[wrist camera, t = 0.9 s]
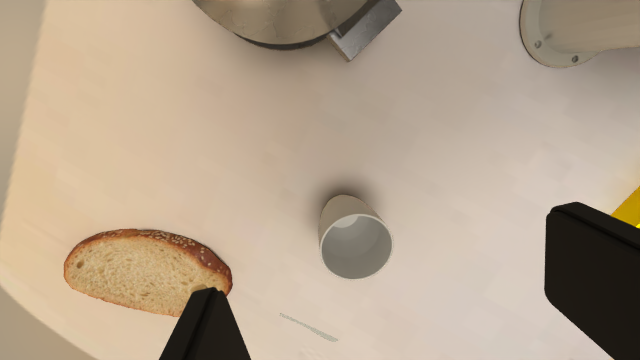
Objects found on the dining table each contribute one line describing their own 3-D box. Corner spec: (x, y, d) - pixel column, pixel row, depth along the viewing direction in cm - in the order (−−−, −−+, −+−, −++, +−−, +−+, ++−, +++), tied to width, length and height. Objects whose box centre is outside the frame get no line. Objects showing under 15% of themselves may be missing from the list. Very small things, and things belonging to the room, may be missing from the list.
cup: (301, 218, 42) (304, 257, 33) (337, 172, 40) (351, 199, 31) (346, 247, 44) (361, 292, 35) (382, 204, 42) (408, 239, 33)
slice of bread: (55, 258, 41) (32, 275, 37) (161, 188, 39) (148, 199, 36) (148, 342, 46) (136, 363, 43) (245, 283, 45) (241, 301, 41)
